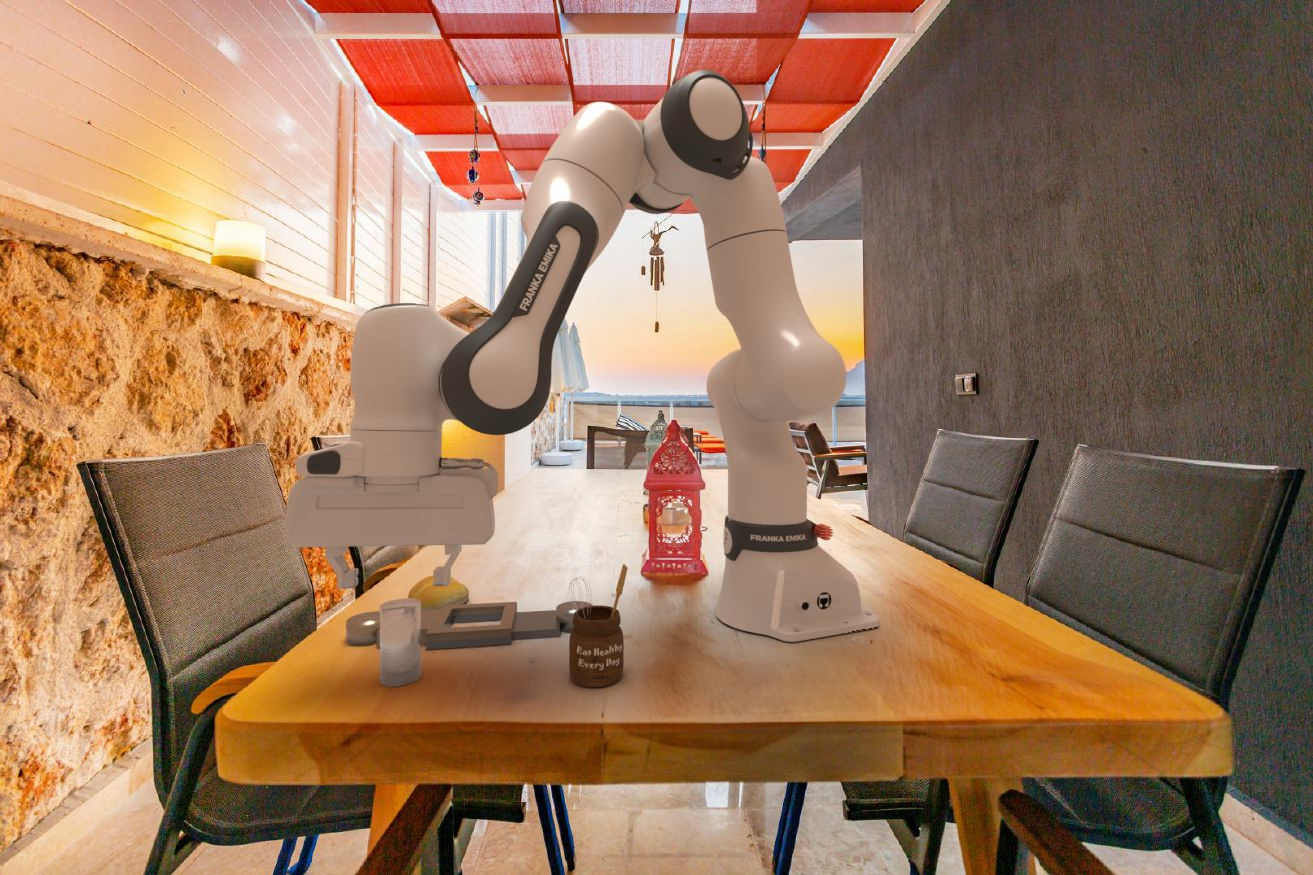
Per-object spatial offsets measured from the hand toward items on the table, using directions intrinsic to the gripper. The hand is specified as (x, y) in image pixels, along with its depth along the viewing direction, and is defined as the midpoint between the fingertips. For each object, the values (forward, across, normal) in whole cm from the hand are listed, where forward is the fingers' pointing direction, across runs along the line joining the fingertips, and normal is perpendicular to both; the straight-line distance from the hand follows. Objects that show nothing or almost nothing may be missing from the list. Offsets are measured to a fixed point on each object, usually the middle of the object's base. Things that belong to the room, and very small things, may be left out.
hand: (395, 586), depth 58 cm
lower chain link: (+10, -12, -12) cm, 20 cm away
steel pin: (+10, -1, 0) cm, 10 cm away
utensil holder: (+10, -22, +3) cm, 24 cm away
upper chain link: (+10, -1, -12) cm, 16 cm away
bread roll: (+10, 0, -25) cm, 27 cm away
